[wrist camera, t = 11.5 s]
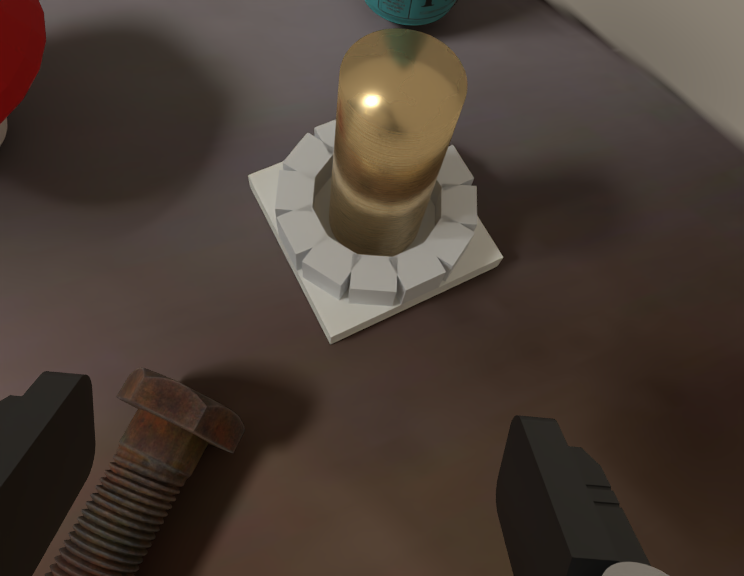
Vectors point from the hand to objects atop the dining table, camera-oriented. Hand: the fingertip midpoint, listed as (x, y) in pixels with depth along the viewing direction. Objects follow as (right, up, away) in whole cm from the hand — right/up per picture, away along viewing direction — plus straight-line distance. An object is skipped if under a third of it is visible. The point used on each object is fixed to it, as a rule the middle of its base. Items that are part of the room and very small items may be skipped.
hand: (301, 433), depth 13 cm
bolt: (-10, -9, +17) cm, 22 cm away
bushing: (+2, +7, +22) cm, 23 cm away
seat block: (+1, +6, +23) cm, 24 cm away
